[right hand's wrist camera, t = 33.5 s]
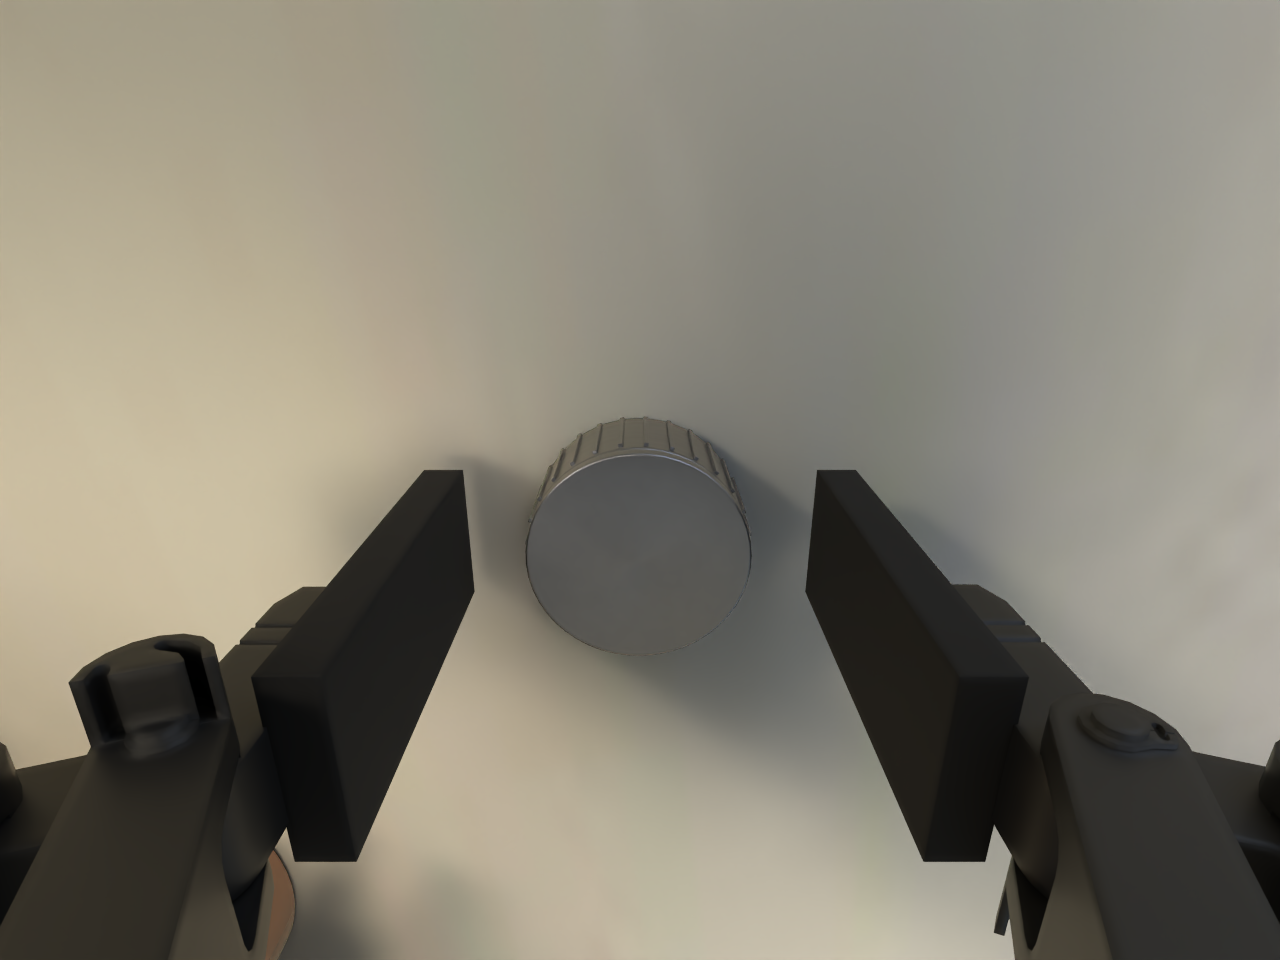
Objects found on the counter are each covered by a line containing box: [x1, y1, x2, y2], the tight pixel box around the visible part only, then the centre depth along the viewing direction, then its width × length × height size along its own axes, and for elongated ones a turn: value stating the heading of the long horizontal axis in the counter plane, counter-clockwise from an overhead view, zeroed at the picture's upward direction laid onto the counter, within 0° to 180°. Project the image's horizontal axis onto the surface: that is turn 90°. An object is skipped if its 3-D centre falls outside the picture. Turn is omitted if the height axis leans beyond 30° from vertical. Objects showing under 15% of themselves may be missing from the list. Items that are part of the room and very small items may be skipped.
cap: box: [526, 417, 752, 655], centre depth 14 cm, size 4×4×2 cm
